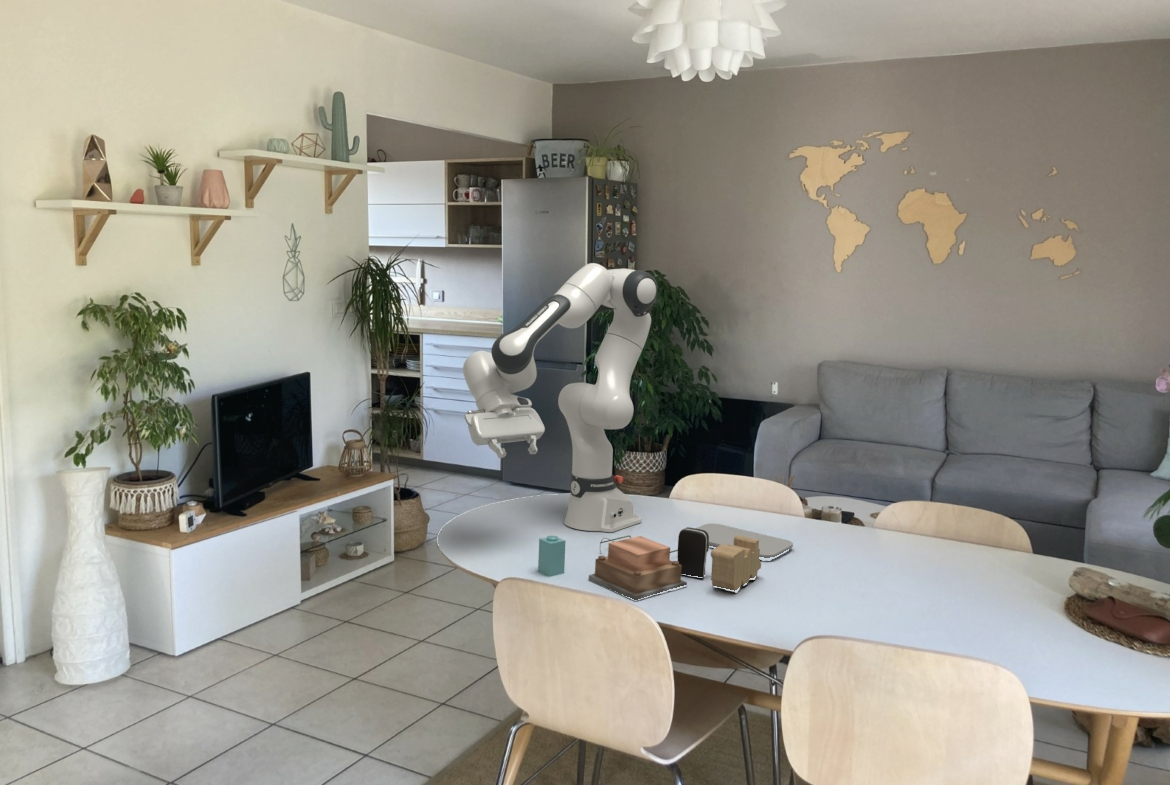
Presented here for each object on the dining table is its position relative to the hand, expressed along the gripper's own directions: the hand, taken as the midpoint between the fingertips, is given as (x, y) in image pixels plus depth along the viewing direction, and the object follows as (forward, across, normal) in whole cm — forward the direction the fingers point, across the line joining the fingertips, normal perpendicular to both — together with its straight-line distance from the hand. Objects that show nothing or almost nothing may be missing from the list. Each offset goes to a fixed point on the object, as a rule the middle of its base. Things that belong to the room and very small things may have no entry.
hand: (518, 454), depth 229 cm
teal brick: (+28, 0, +8) cm, 29 cm away
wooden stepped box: (+40, +12, -4) cm, 42 cm away
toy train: (+49, +31, -14) cm, 60 cm away
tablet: (+36, +55, 0) cm, 65 cm away
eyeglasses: (+30, +27, +7) cm, 41 cm away
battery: (+42, +27, -6) cm, 51 cm away
